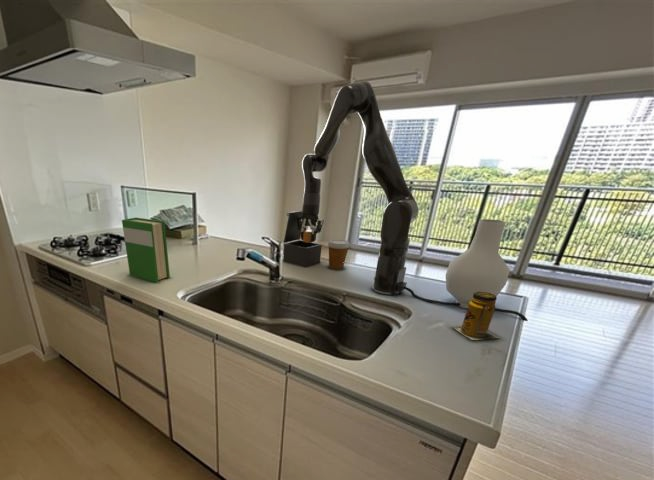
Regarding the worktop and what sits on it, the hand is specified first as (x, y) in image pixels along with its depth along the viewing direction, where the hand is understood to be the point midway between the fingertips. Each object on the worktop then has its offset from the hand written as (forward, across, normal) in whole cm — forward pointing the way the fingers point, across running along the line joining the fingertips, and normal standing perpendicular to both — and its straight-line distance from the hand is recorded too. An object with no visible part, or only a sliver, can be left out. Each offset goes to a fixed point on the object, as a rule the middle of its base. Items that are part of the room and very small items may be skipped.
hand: (308, 240), depth 159 cm
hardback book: (+11, -33, -67) cm, 75 cm away
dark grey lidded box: (+11, -3, 0) cm, 11 cm away
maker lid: (-5, -8, 0) cm, 10 cm away
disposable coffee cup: (+11, +14, +4) cm, 18 cm away
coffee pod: (0, 0, 0) cm, 0 cm away
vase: (+11, +69, -1) cm, 70 cm away
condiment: (+11, +78, -22) cm, 82 cm away
